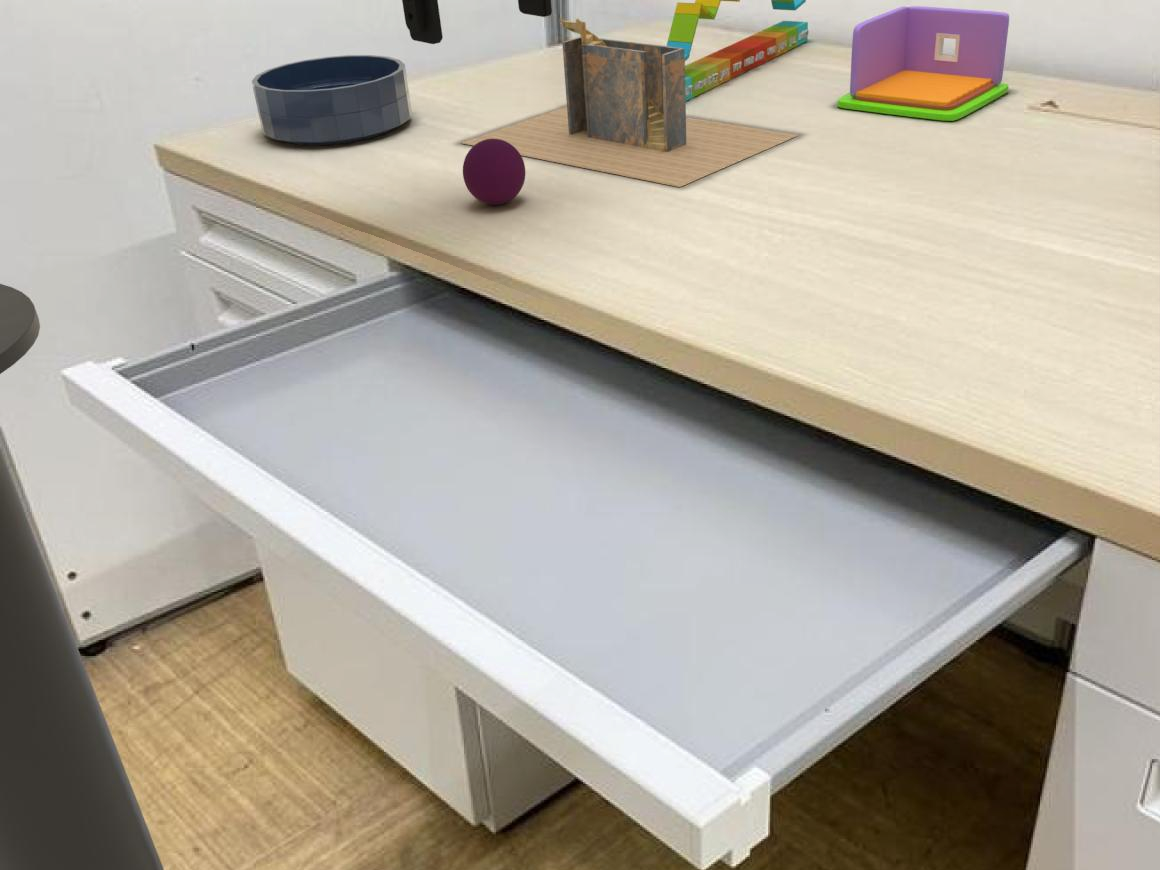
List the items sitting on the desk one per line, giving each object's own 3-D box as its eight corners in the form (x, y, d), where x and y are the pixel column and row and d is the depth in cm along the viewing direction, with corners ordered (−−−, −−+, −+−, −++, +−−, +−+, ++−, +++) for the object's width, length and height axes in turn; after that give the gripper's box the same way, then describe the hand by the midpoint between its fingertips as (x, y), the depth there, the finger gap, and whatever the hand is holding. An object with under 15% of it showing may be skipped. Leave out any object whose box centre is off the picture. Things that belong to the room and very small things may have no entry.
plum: (476, 217, 93) (468, 152, 91) (459, 200, 97) (451, 137, 94) (536, 206, 95) (530, 142, 92) (517, 189, 98) (511, 127, 96)
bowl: (275, 158, 110) (263, 99, 107) (255, 122, 121) (243, 68, 118) (427, 133, 114) (419, 76, 111) (394, 101, 125) (386, 48, 122)
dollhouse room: (894, 78, 120) (900, 1, 116) (1013, 90, 113) (1023, 9, 109) (831, 107, 112) (835, 26, 108) (954, 123, 106) (962, 37, 102)
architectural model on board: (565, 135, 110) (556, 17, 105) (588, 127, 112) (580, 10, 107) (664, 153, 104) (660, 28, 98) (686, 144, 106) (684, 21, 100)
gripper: (519, -270, 85) (544, 0, 95) (299, -248, 77) (352, 46, 87) (588, -276, 81) (607, 10, 91) (362, -253, 72) (410, 59, 82)
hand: (482, 27), depth 89 cm, fingers open, 9 cm apart
